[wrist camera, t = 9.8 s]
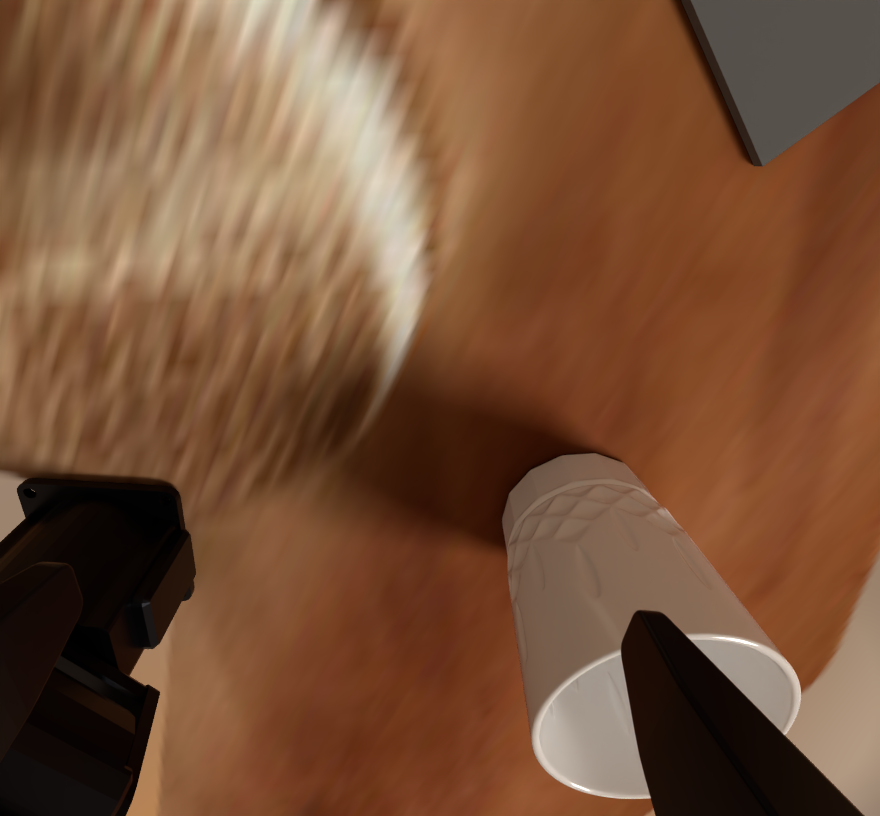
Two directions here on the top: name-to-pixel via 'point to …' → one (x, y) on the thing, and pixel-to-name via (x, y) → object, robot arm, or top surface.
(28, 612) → the robot arm
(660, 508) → the white cup
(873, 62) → the pad
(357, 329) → the top surface
